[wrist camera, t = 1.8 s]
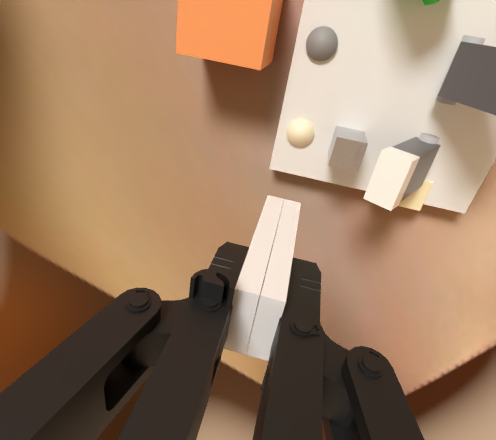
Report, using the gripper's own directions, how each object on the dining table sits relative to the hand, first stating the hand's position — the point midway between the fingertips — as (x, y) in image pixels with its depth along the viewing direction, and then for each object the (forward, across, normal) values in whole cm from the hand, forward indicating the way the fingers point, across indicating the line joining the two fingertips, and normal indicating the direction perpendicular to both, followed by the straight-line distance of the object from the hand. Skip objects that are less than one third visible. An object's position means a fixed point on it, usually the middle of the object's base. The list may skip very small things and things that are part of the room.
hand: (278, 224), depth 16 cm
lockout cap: (+18, -7, +8) cm, 21 cm away
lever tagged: (+15, +10, 0) cm, 18 cm away
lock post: (+16, +4, 0) cm, 17 cm away
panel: (+18, +7, +4) cm, 20 cm away
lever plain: (+15, +10, +7) cm, 19 cm away
